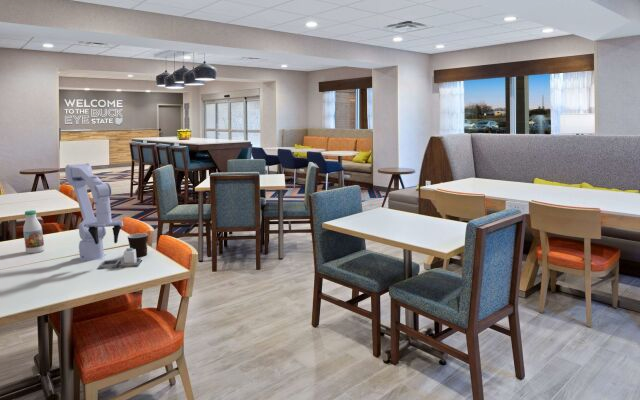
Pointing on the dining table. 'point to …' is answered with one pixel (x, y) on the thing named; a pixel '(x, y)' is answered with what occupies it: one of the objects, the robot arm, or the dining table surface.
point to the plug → (130, 255)
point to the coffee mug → (139, 243)
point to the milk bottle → (33, 233)
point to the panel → (118, 264)
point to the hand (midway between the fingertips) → (106, 243)
